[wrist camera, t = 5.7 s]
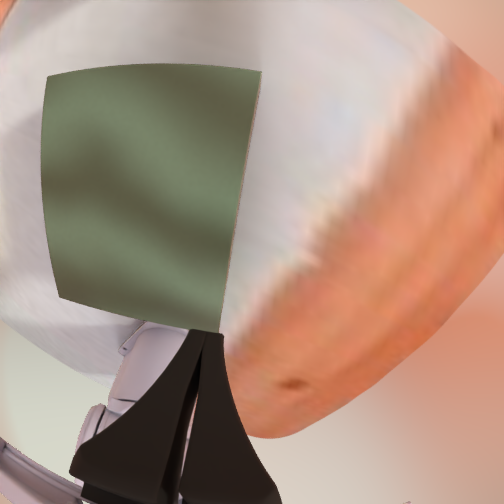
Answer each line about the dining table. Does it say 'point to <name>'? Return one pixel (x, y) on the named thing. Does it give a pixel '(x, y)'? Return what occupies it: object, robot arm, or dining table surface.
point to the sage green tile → (145, 186)
